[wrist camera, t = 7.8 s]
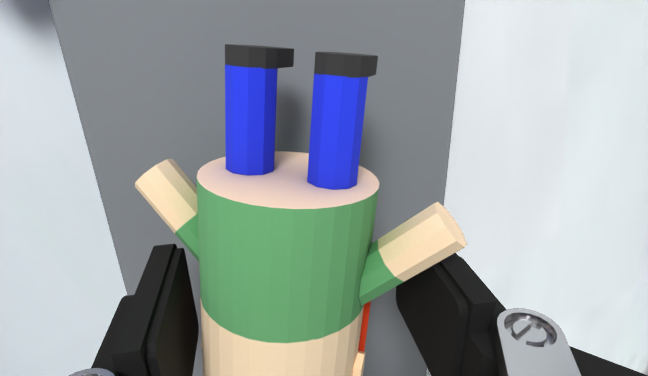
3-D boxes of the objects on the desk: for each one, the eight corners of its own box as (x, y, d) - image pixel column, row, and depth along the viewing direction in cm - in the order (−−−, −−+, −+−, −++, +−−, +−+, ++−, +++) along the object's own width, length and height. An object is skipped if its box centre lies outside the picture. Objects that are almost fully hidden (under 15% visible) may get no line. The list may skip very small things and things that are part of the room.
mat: (454, -20, 12) (467, -22, 12) (417, 372, 19) (424, 386, 18) (58, -14, 11) (43, -15, 10) (167, 412, 17) (163, 430, 16)
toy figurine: (190, 39, 12) (201, 370, 16) (50, 31, 8) (113, 483, 12) (491, 64, 10) (416, 433, 14) (524, 72, 6) (404, 596, 10)
